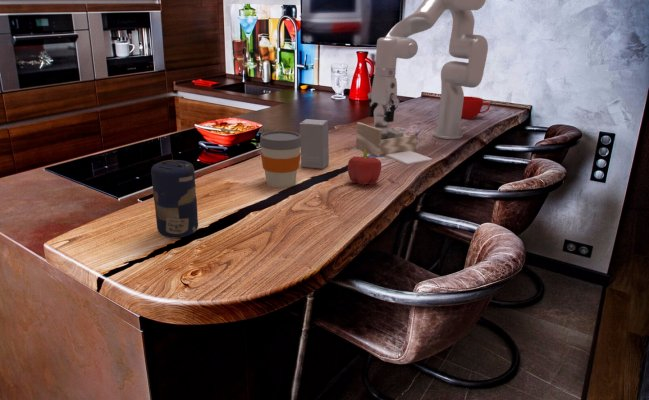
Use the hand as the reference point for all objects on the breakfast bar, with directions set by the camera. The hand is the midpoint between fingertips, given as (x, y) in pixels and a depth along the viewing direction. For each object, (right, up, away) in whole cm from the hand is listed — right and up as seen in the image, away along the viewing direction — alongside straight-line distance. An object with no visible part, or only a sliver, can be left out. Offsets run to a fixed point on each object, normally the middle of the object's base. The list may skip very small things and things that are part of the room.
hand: (381, 119), depth 187 cm
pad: (+10, -15, -5) cm, 19 cm away
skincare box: (-25, -19, -17) cm, 36 cm away
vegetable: (-9, -25, -32) cm, 42 cm away
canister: (-57, -39, -69) cm, 97 cm away
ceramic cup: (+53, +11, +65) cm, 85 cm away
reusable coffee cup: (-35, -26, -34) cm, 55 cm away
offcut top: (+5, -6, +6) cm, 10 cm away
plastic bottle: (0, -11, +5) cm, 12 cm away
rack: (+3, -11, +6) cm, 13 cm away
